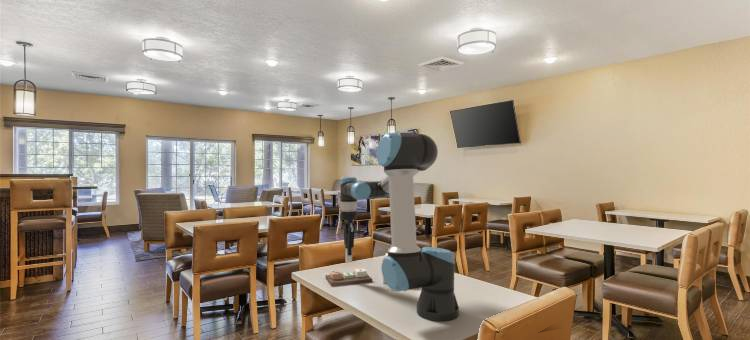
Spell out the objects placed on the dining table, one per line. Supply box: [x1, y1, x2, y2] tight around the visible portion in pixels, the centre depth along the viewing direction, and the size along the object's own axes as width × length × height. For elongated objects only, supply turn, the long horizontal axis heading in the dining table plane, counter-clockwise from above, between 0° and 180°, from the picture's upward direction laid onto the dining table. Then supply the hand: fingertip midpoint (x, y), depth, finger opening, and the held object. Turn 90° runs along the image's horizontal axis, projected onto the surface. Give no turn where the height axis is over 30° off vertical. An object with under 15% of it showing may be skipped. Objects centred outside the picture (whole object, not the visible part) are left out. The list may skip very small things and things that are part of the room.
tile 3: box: [329, 270, 343, 280], centre depth 171 cm, size 4×4×3 cm
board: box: [325, 271, 373, 287], centre depth 173 cm, size 12×19×2 cm, turn 109°
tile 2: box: [342, 271, 355, 279], centre depth 173 cm, size 4×4×3 cm
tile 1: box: [354, 268, 368, 278], centre depth 175 cm, size 4×4×3 cm
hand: (348, 261), depth 172 cm, fingers closed
